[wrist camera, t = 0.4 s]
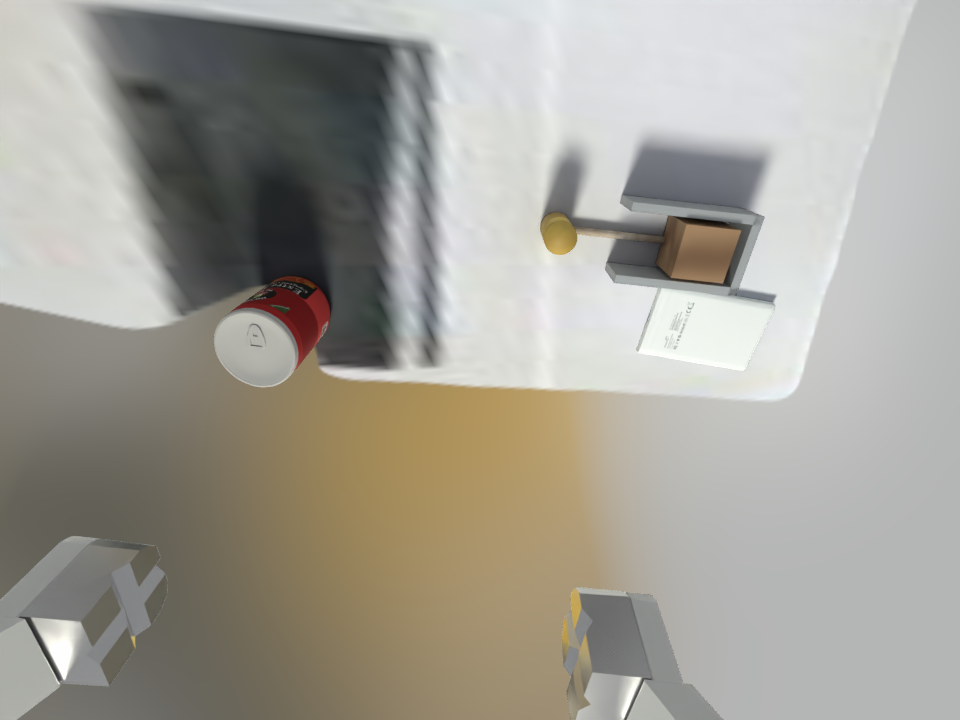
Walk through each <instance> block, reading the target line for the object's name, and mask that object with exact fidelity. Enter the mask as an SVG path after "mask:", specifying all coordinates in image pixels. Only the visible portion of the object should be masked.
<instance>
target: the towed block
mask: <svg viewBox="0 0 960 720" xmlns="http://www.w3.org/2000/svg"><path fill="white" fill-rule="evenodd" d="M540 230H541V234H542V237H543V240H544V242H545V245H546V247H547V249H548V250H549V251H550V252H551V253H553V254H557V255H563V254H566V253H568V252H570V251H571V250H572V249H573V248H574V247H575V245H576V242H577V234H579V235H588V236H597V237H606V238H615V239H624V240H634V241H643V242H652V243H661V246H660V250H659V253H658V257H657V260H656V264H657V265H658V266H659V267H660V268H661V269H662V270H663V271H664V272H665V273H666V274H668V275H669V276H670V277H671V278H678V279H687V280H696V281H705V282H714V283H723V282H724V279H725V276H726V273H727V270H728V268H729V265H730V262H731V259H732V256H733V253H734V250H735V248H736V245H737V242H738V239H739V236H740V233H741V230H739V229H737V228H735V227H733V226H731V225H729V224H727V223H725V222H723V221H714V220H706V219H697V218H688V217H679V216H670V215H669V217H668V220H667V224H666V228H665V231H664V235H663V236H654V235H645V234H636V233H627V232H618V231H609V230H600V229H591V228H582V227H573V226H572V224H571V223H570V221H569V219H568V218H567V217H566V216H565V215H564V214H562V213H559V212H553V213H550V214H548V215H547V216H546V217H545V218H544V219H543V220H542V222H541V226H540Z"/></svg>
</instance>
